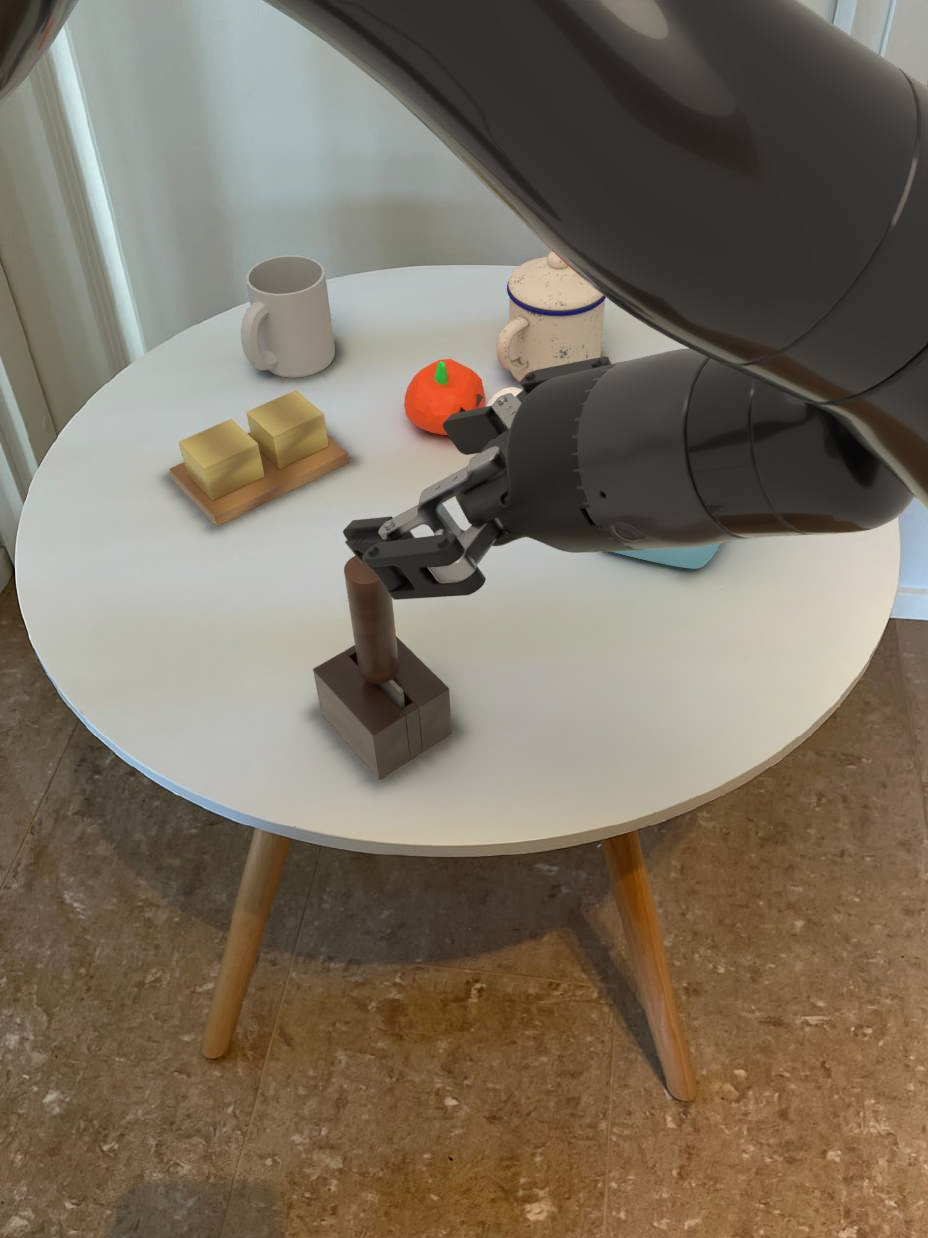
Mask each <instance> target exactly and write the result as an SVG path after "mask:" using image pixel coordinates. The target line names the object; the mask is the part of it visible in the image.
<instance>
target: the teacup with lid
mask: <svg viewBox="0 0 928 1238" xmlns="http://www.w3.org/2000/svg"><path fill="white" fill-rule="evenodd" d="M506 292H507V295H508V297H509V299H508V300H509V301H508V302H509V304H508V307H509V309H508V311H509V312H508V313H509V314H508V315H509V316H508V317H509V318H508V323H507V324H506V325H505V326H504V327H503V328H502V330H501V331H500V334H499V335H498V337H497V340H496V347H495V349H496V350H495V351H496V352H495V354H496V357H497V361H498V363H499V364H500V365H501V367H503V368H504V369H506V370H508V371H510V373H511V375H512V376H513V378H514V379H516V381H517V382H519V383H520V381H521V379H522V378H523V377H524V376H525V375H526V374H527V373H529V372H532V371H535V370H538V369H543V368H548V367H554V366H559V365H564V364H569V363H574V362H579V361H584V360H589V359H594V358H599V357H601V353H602V342H603V330H604V329H603V328H604V317H605V306H606V305H605V304H606V299H607V298H606V297H605V296H604V295H603V294H601V293H600V292H599V291H597V290H596V289H595V288H593V287H592V286H591V285H590V284H589V283H587V282H586V281H585V280H584V279H583V278H582V277H580V276H579V275H578V274H577V273H576V272H575V271H573V270H572V269H571V268H570V267H569V266H568V265H567V264H565V263H564V262H563V261H562V260H561V259H560V258H559V257H558V256H557V255H556V254H555V253H554V252H553V251H552V250H551V251H549V253H548V255H547V256H542V257H538V258H535V259H534V258H533V259H530V260H528V261H526V262H524V263H522V264H520V265H519V266H518V267H516V268H515V269H514V270H513V272H511V275H510V276H509V279H508V281H507V283H506Z"/></svg>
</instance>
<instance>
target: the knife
mask: <svg viewBox="0 0 928 1238" xmlns="http://www.w3.org/2000/svg"><path fill="white" fill-rule="evenodd" d="M343 568H344V569H343V574H344V575H343V576H344V580H345V581H344V582H345V585H346V586H345V588H346V595H347V601H348V607H349V615H350V620H351V621H350V622H351V627H352V634H353V639H354V645H355V648H356V655H357V662H358V669H359V673H360V675H361V677H362V678H363V679H364V680H366V681H367V682H370V683H374V684H376V685H377V686H378V688H379V689H380V690H381V691H382V692H383V693H384V694H385V695H386V696H387V697H388V698H389V699H390V700H391V701H392V702H393V703H394V704H395V705H396V706H397V708H398V709H399V710H400V711H401V709H403V708H404V707H405V701H404V691H403V690H402V689H401V688H400V687H399V686H398V685H397V684H396V683H395V682H394V681H393V680H392V679H393V678H394V677H395V676H396V675H397V673H398V671H399V659H398V650H397V641H396V636H397V631H396V625H395V624H396V622H395V613H394V604H393V598H392V597H391V596H390V594H389V593H388V592H387V589H386V588H385V586H384V585H383V584H382V582H381V581H380V580H379V579H378V577H377V576H376V575H375V573H374V572H373V571H372V570H371V568H369V567H368V566H364V565H363V564H361V562H360V561H359V560H358V558H357V557H356V556H355V555H354V556H352V557H351V558H349V559H348V560H347V561H346V563H345V565H344V567H343Z"/></svg>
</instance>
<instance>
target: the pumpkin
mask: <svg viewBox="0 0 928 1238" xmlns="http://www.w3.org/2000/svg"><path fill="white" fill-rule="evenodd" d="M486 402H487V400H486V394H485V389H484V385H483V379H482V378H481V377H480V376H479V375H478V373H477V372H476V371H474V370H473V369H471V367H468V366H466V365H464V364H462V363H460V362H457V361H456V360H454V359H451V358H446V359H445V358H444V359H443V358H442V359H439V360H436V361H434V362H432V363H430V364H428V365H426V366H425V367H423V368H422V369H420V370H419V371H418V372H417V373H416V374H415V375H413V377H412V379H411V381H410V382H409V384H408V386H407V387H406V391H405V394H404V404H403V406H404V411H405V415H406V417H407V418H408V420H409V421H410V422H411V423H412V424H413V425H414V426H415V427H418V428H419V429H421V430H424V431H426V432H429V433H432V434H435V435H436V434H438V435H442V436H448V435H447V433H446V432H445V430H444V428H443V423H444V422H445V421H446V420H447V419H448V417H449V416H450V415H451V414H454V413H459V412H464V411H468V410H473V409H478V408H482V407H485V405H486Z"/></svg>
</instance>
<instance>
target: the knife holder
mask: <svg viewBox="0 0 928 1238" xmlns="http://www.w3.org/2000/svg"><path fill="white" fill-rule="evenodd" d="M396 641H397V650H398V659H399V671H398V673H397V675H396V676H395V677H394V678H393V679H392V680H393V681H394V682H395V683H396V684H397V685H398V686H399V687H400V688H401V689H402V690H403V691H404V701H405V707H404V708H403V709H401V711H400V710H399V709H398V708H397V706H396V705H395V704H394V703H393V702H392V701H391V700H390V699H389V698H388V697H387V696H386V695H385V694H384V693H383V692H382V691H381V690H380V689H379V688H378V686H377V685H376V684H374V683H370V682H367V681H366V680H364V679H363V678H362V677H361V675H360V673H359V669H358V662H357V655H356V648H355V644H354V645H352V646H351V647H349V648H347V649H345V650H344V651H342V652H340V653H338V654H336V655H335V656H333V657H332V658H329V659H328V660H326V661H324V662H322V663H321V664H319V665H318V666H315V667H314V668H312V672H313V678H314V682H315V687H316V692H317V698H318V703H319V707H320V713H321V716H322V717H323V718H324V720H326V722H327V723H328V724H329V725H330V726H331V727H332V729H333V730H334V731H335V732H336V733H337V734H338V735H339V736H340V738H341V739H342V740H343V741H344V742H345V743H346V745H348V747H349V748H350V749H351V750H352V751H353V752H354V754H355V755H357V757H358V758H359V759H360V761H362V763H363V764H365V766H366V767H367V768H368V769H369V770H370V772H371V773H372V774H373V775H374V776H375V778H377V779H378V780H379V781H380V780H383V779H384V778H386V777H387V776H389V775H390V774H392V773H393V772H395V771H397V770H398V769H400V768H401V767H403V766H404V765H406V764H407V763H410V761H412V760H414V759H415V758H417V757H418V756H420V755H422V753H424V752H427V750H429V749H430V748H433V747H434V746H436V745H437V744H438V743H440V742H442V741H444V740H445V739H447V738H448V737H449V736H451V735H452V714H451V697H450V687H449V686H447V685H446V684H445V682H444V681H443V680H442V679H440V678H439V676H438V675H436V674H435V673H434V672H433V671H432V670H431V669H430V668H429V667H428V665H426V664H425V663H424V662H423V661H422V660H421V659H420V657H418V656H417V655H416V654H415V653H414V652H413V651H412V649H410V648H409V647H408V646H407V645H406V644H405V643H404V642H403V641H402V640H401V639H400V638H399V637H398V636H397V635H396Z"/></svg>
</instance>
